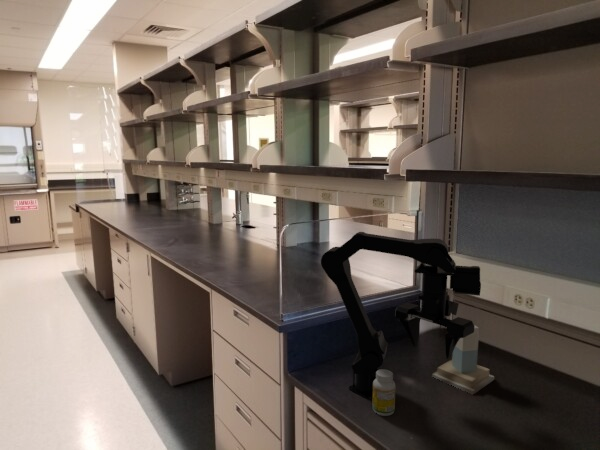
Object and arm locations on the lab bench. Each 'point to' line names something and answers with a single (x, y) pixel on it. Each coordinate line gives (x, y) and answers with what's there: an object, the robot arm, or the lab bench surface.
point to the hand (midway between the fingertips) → (431, 352)
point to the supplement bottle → (383, 393)
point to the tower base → (472, 391)
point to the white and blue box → (466, 353)
